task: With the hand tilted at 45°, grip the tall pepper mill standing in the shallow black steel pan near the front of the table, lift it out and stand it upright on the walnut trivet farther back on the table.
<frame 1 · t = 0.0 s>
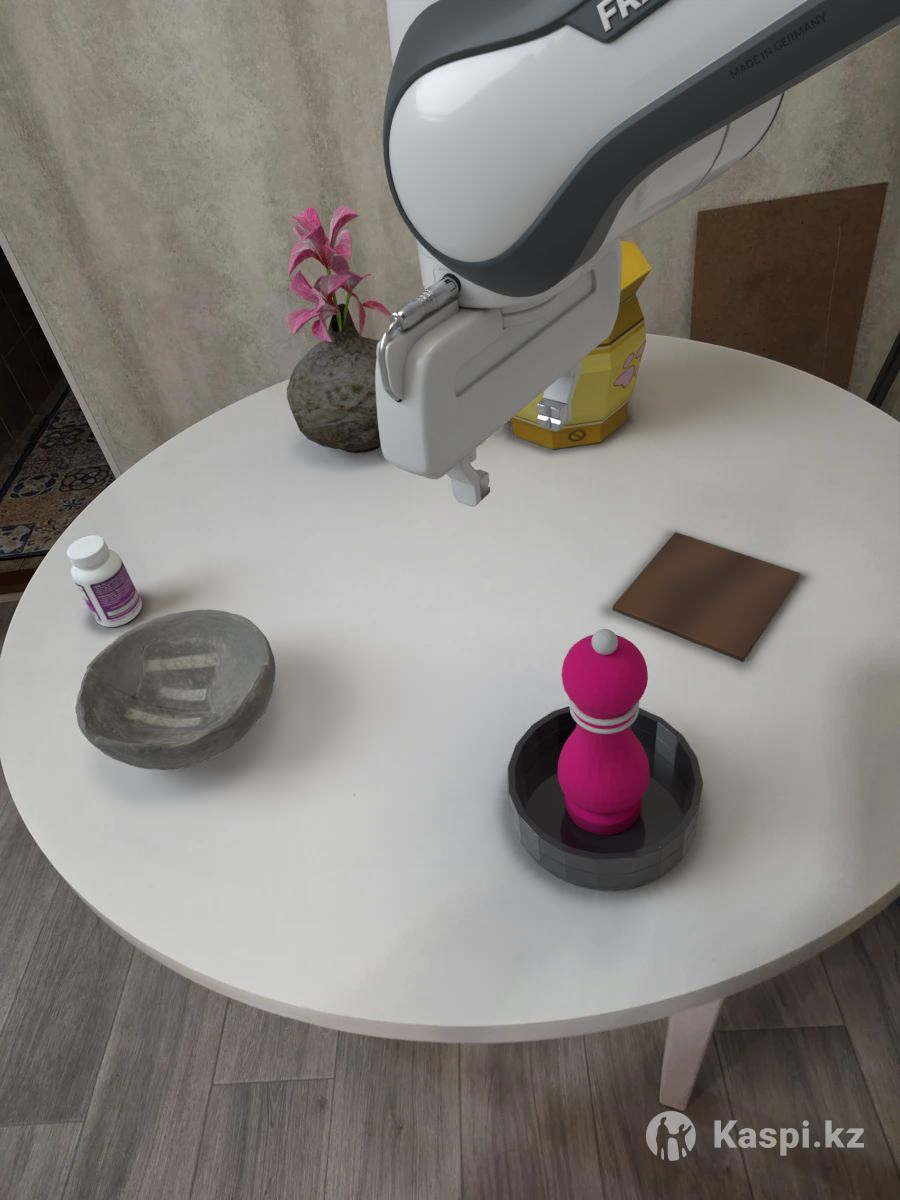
hand: (515, 460, 56), 31 cm above the table, tool pointing down, fingers open, 8 cm apart
pepper mill: (602, 804, 72), resting on pan
pill bottle: (120, 613, 98), on the table
bowl: (199, 726, 84), on the table
pan: (602, 806, 72), on the table
container: (566, 418, 117), on the table
vase: (364, 438, 119), on the table
trivet: (706, 593, 89), on the table
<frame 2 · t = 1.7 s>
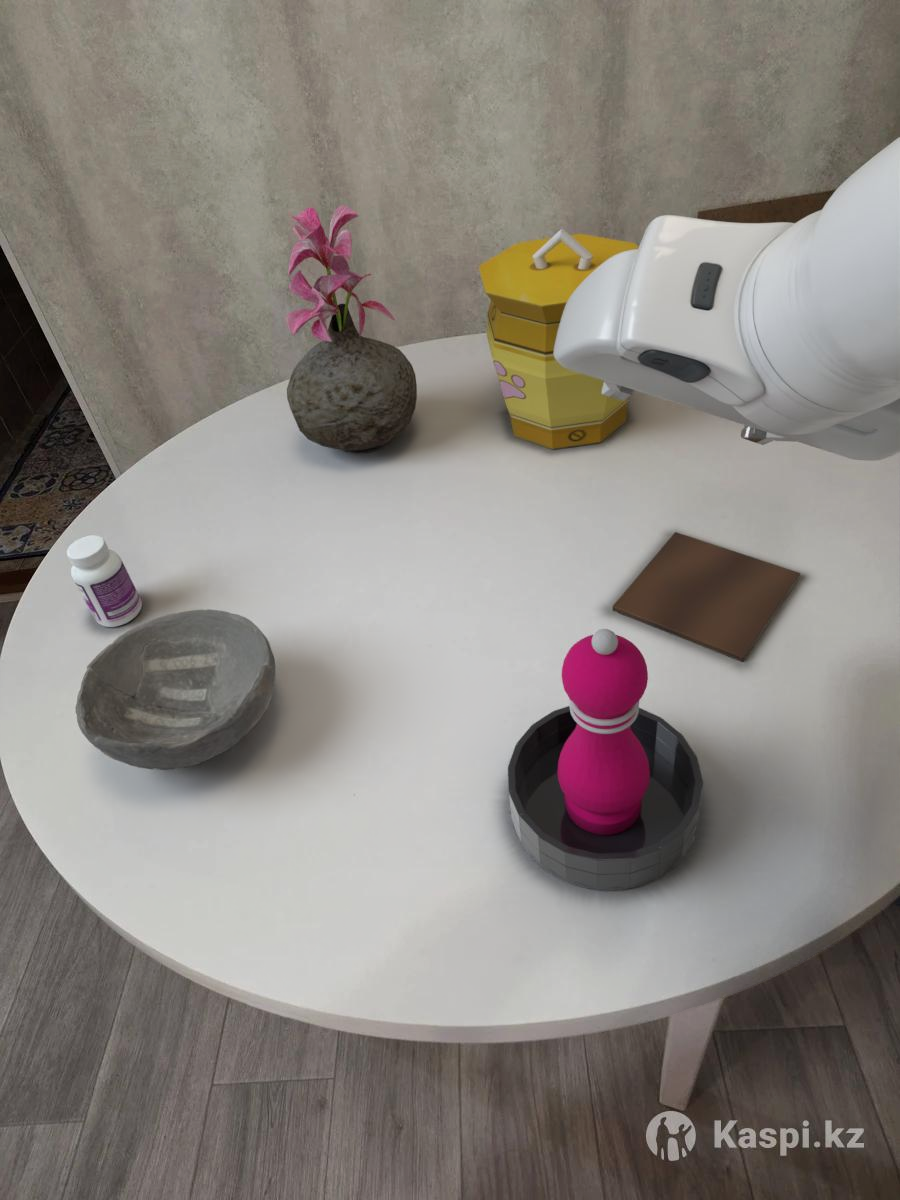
hand: (684, 408, 54), 33 cm above the table, tool tilted 50°, fingers open, 8 cm apart
nothing on the table moved.
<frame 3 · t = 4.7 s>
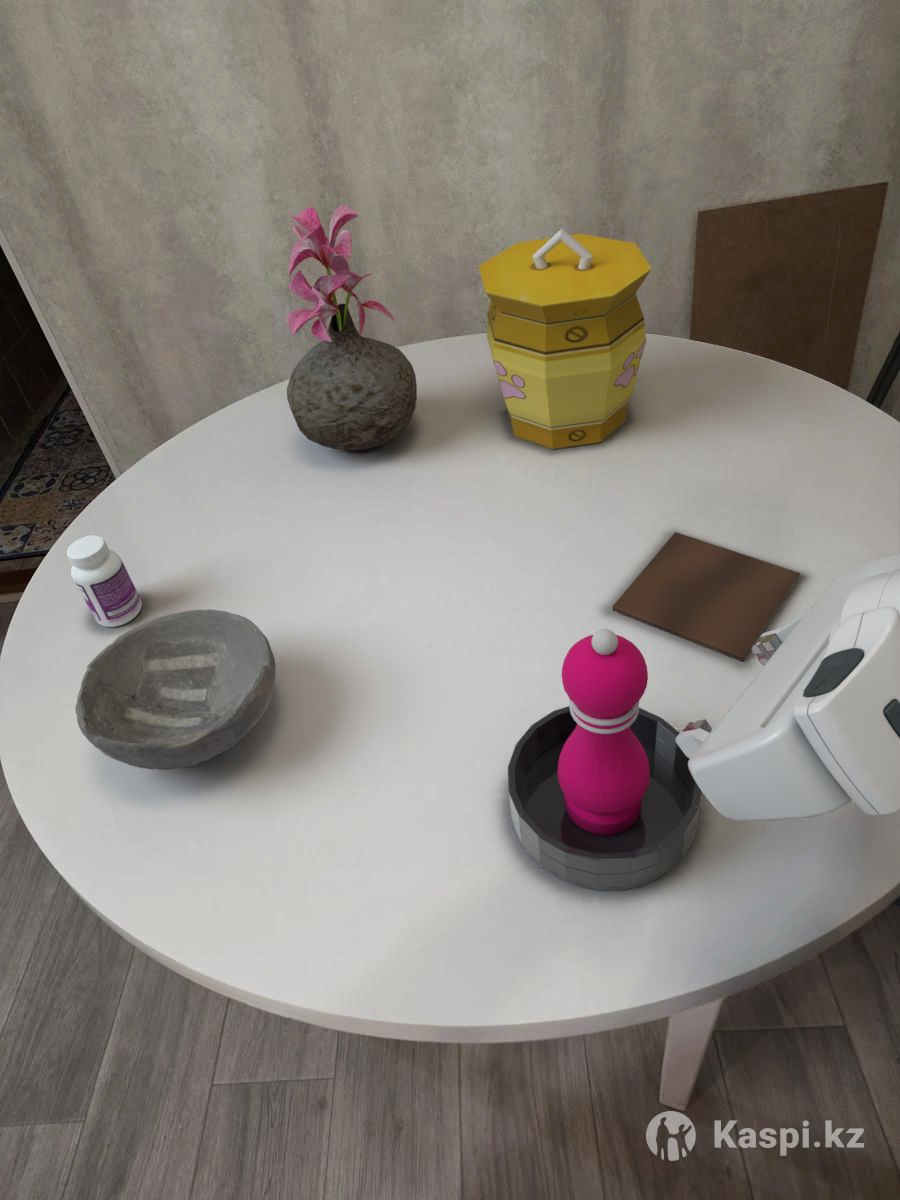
hand: (725, 694, 55), 19 cm above the table, tool tilted 45°, fingers open, 8 cm apart
nothing on the table moved.
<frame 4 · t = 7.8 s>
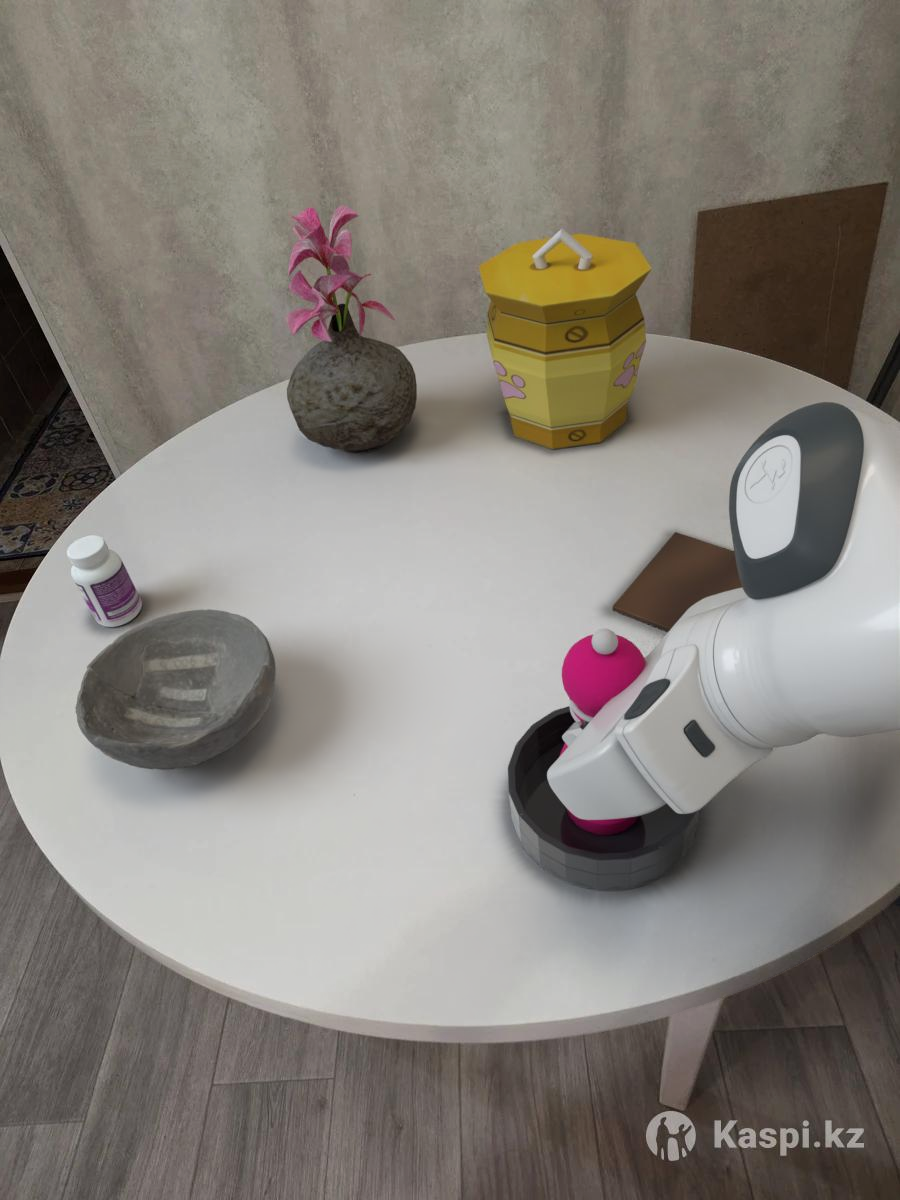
hand: (596, 711, 64), 12 cm above the table, tool tilted 45°, fingers closed on pepper mill, 5 cm apart
pepper mill: (602, 804, 72), resting on pan, touching gripper
everything else where it was.
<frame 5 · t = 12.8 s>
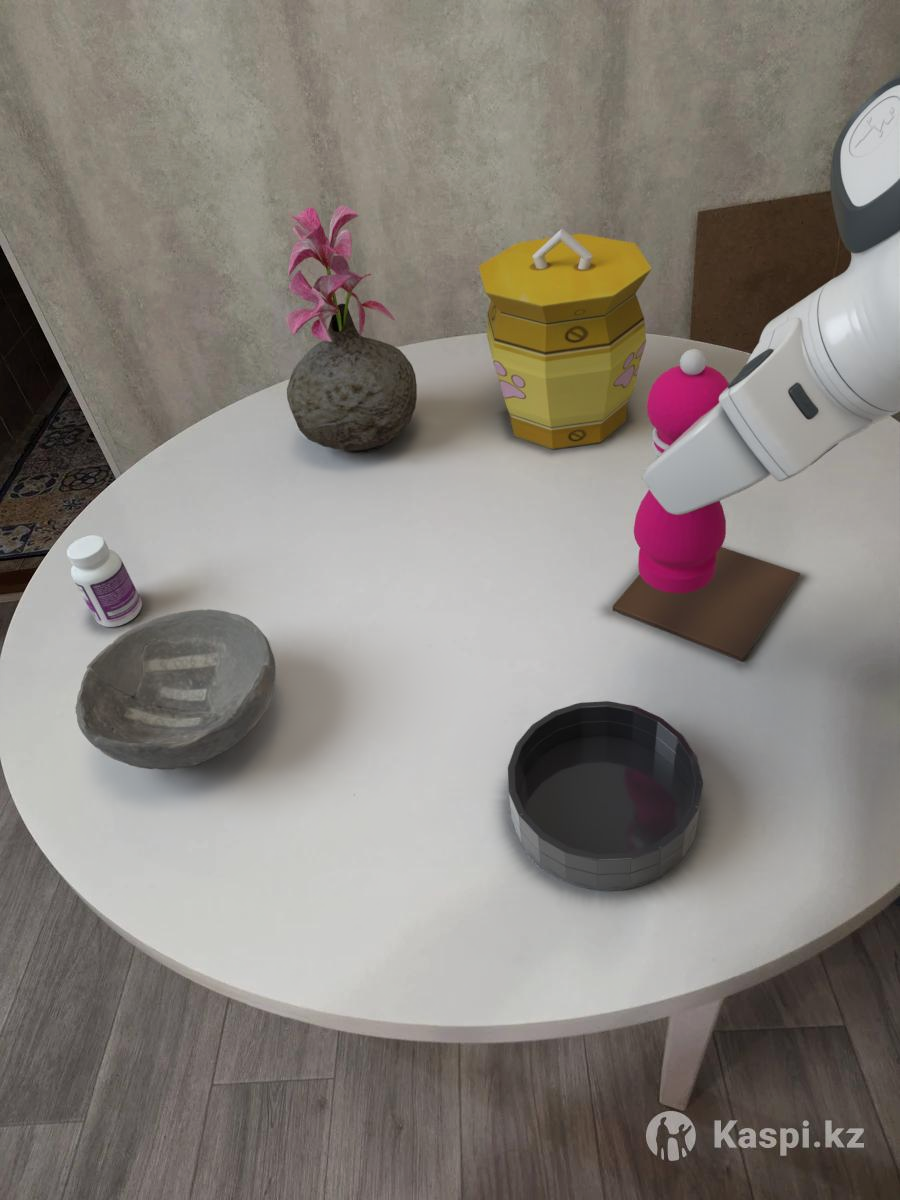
hand: (678, 454, 66), 24 cm above the table, tool tilted 45°, fingers closed on pepper mill, 5 cm apart
pepper mill: (675, 571, 73), point 13 cm above the table, touching gripper
everything else where it was.
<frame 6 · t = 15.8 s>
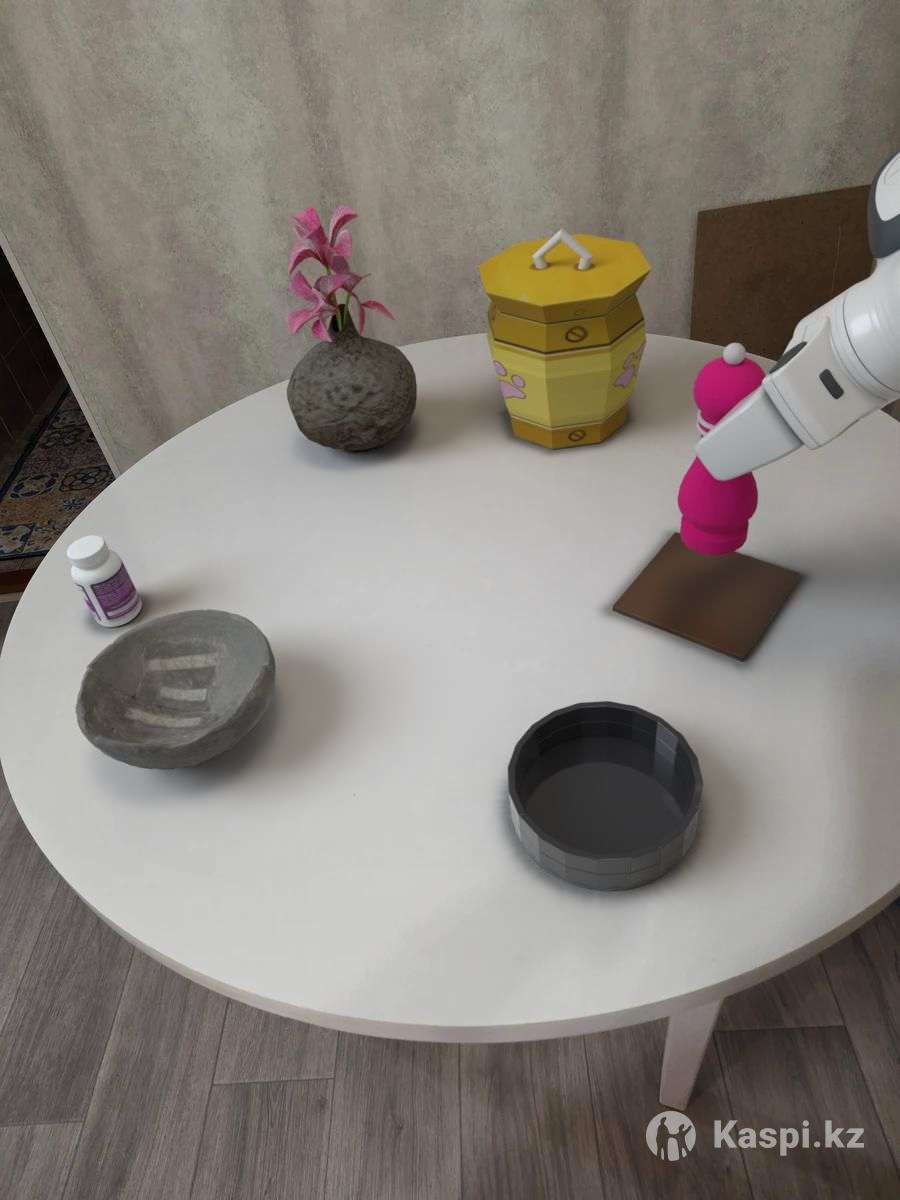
hand: (718, 433, 77), 19 cm above the table, tool tilted 45°, fingers closed on pepper mill, 5 cm apart
pepper mill: (712, 536, 84), point 7 cm above the table, touching gripper
everything else where it was.
when the fingers open (12 cm above the table, at t = 18.3 s): pepper mill stays where it is, resting on trivet.
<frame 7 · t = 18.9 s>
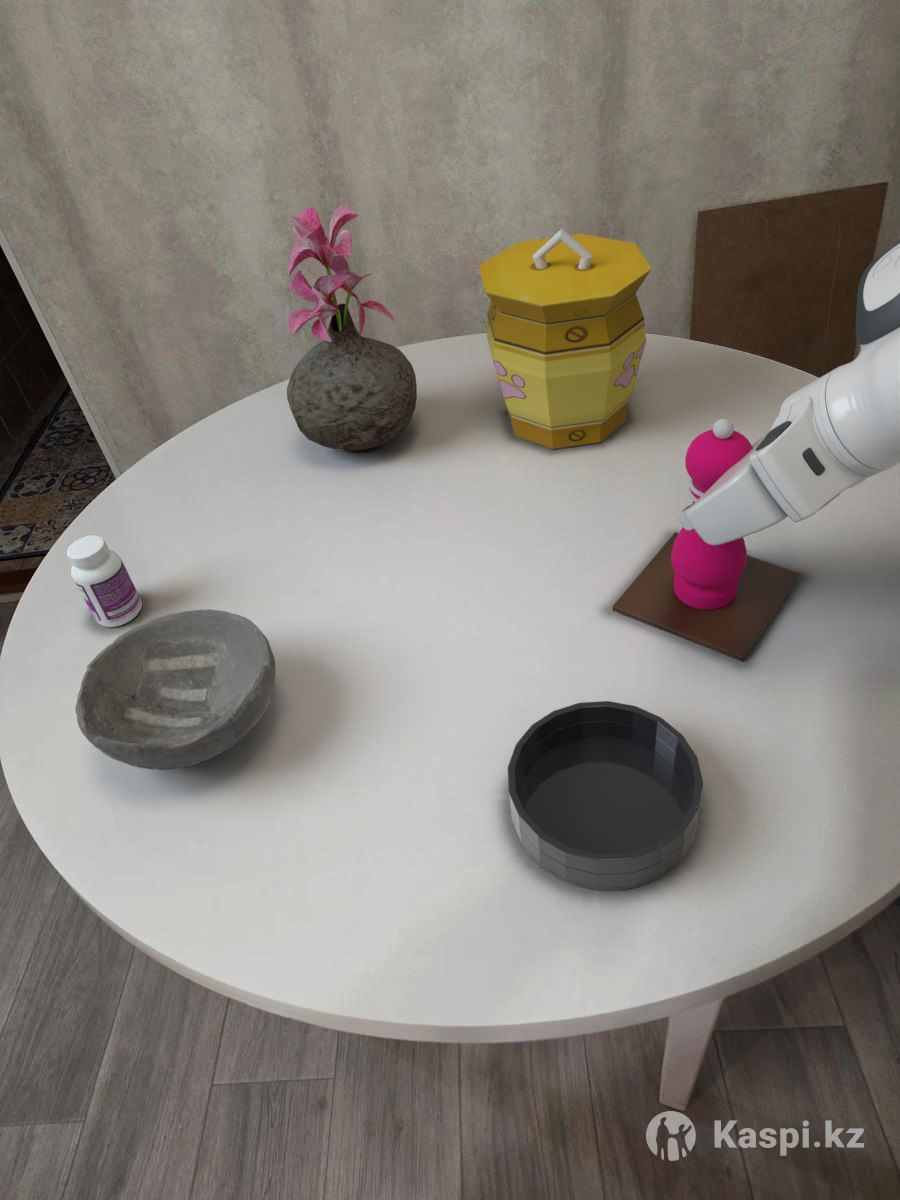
hand: (710, 494, 81), 12 cm above the table, tool tilted 45°, fingers open, 8 cm apart
pepper mill: (704, 591, 89), resting on trivet
everything else where it was.
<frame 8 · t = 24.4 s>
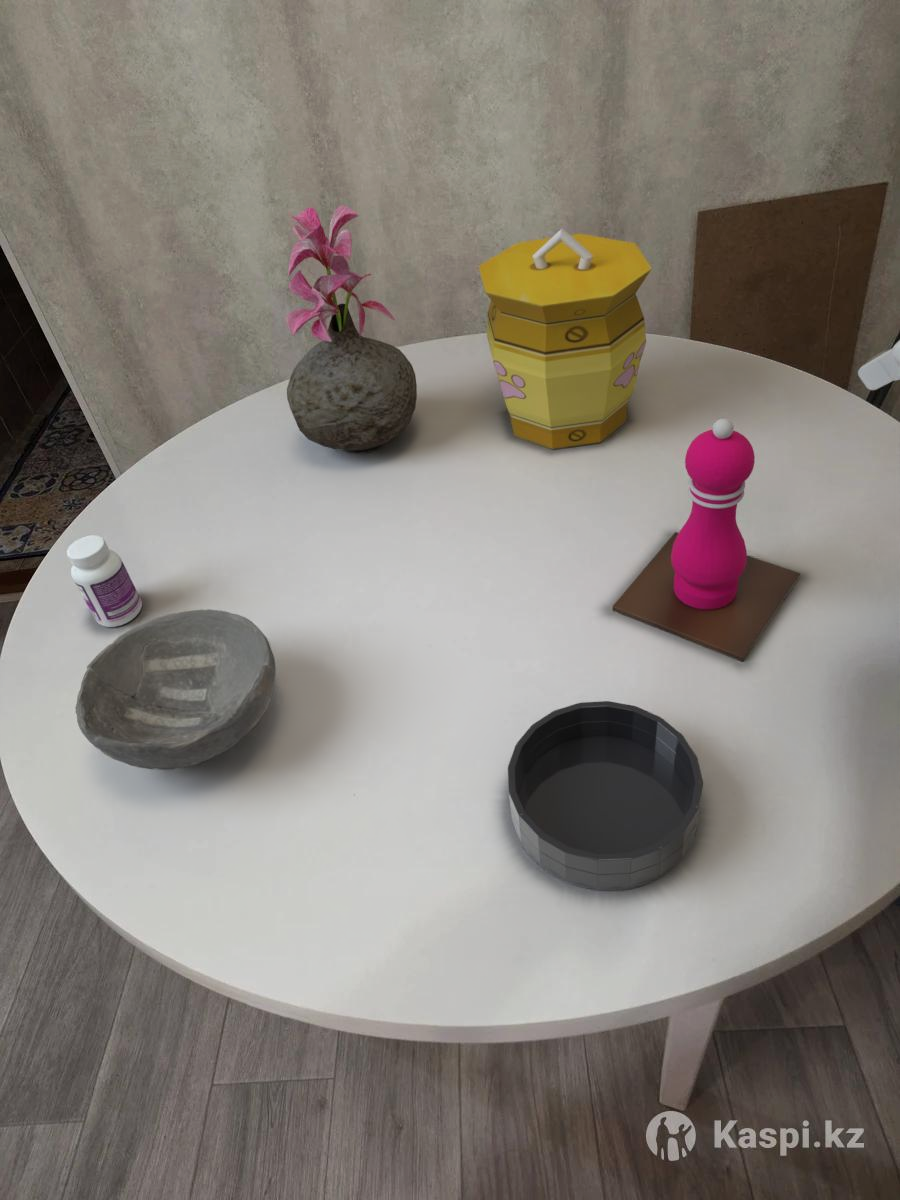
hand: (893, 347, 60), 31 cm above the table, tool tilted 45°, fingers open, 8 cm apart
nothing on the table moved.
at the end: pepper mill inside the target area on the trivet (0.2 cm from its centre), point 0.4 cm above the trivet's base; pepper mill tilted 0°; the gripper is holding nothing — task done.
